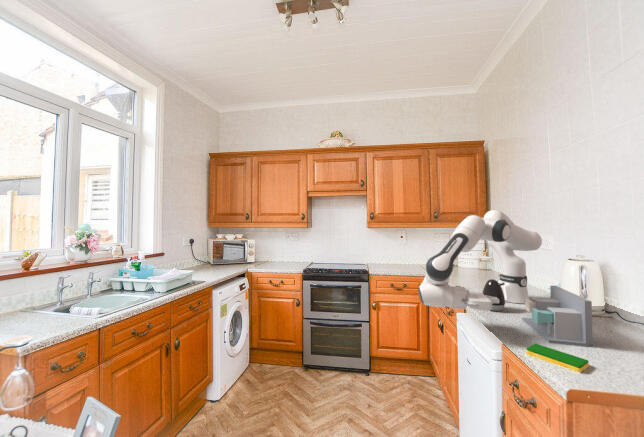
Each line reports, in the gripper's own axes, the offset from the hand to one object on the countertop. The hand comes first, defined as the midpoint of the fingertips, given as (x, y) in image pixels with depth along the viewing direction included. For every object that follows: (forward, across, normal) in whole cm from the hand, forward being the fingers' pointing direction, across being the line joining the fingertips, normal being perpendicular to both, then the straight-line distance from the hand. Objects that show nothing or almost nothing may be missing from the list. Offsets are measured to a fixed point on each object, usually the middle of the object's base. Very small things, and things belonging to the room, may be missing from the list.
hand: (498, 300), depth 109 cm
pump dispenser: (+7, +32, +13) cm, 36 cm away
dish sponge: (+11, -18, +14) cm, 26 cm away
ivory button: (+19, +14, +7) cm, 25 cm away
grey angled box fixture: (+22, +7, +13) cm, 26 cm away
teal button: (+16, 0, +7) cm, 18 cm away
